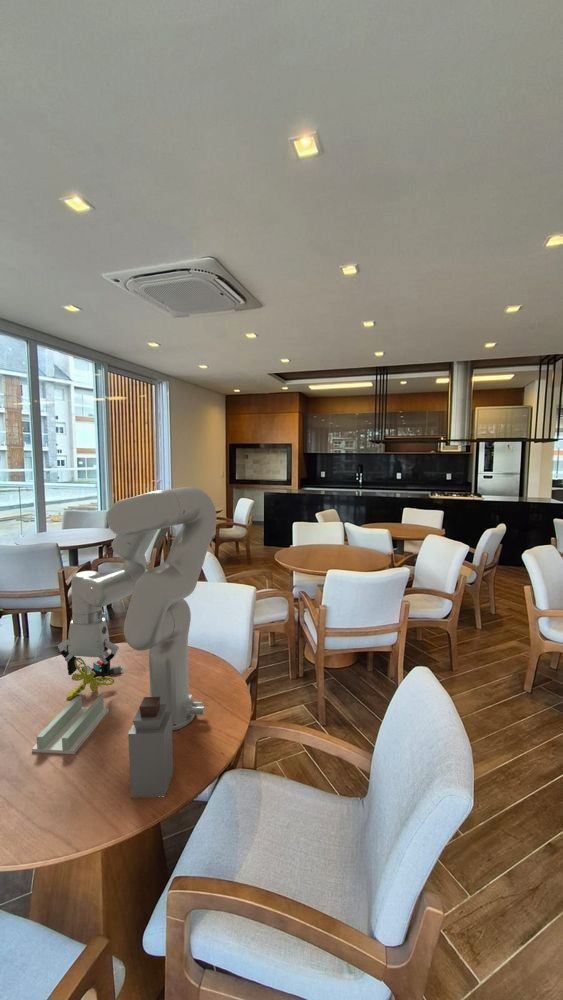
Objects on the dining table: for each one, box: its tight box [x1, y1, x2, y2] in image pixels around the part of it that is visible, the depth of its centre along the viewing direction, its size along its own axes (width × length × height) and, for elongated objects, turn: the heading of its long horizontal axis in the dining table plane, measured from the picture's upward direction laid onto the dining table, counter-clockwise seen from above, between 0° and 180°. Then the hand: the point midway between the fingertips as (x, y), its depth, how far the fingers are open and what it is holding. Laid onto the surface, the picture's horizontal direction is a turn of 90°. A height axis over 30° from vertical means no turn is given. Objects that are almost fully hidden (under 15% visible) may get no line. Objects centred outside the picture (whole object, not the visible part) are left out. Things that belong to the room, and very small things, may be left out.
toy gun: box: [81, 659, 124, 681], centre depth 130 cm, size 10×12×5 cm
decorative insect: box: [66, 657, 115, 701], centre depth 117 cm, size 13×3×10 cm
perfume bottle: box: [127, 696, 174, 799], centre depth 84 cm, size 7×7×18 cm
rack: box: [31, 695, 110, 755], centre depth 102 cm, size 10×16×4 cm, turn 176°
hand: (89, 673), depth 118 cm, fingers open, 9 cm apart
